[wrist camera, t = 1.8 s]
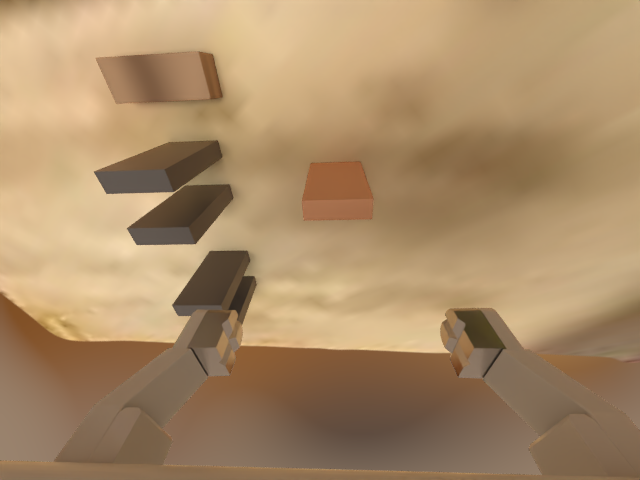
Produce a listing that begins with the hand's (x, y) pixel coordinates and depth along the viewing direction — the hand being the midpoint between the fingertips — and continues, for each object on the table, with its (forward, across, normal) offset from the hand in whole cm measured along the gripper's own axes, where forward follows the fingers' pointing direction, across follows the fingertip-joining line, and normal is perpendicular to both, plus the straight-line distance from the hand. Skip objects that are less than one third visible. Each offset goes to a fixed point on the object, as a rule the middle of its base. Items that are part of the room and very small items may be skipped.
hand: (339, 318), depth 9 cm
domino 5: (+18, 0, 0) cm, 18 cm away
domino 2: (+18, +14, +2) cm, 23 cm away
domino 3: (+18, +14, +11) cm, 25 cm away
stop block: (+18, +14, -8) cm, 24 cm away
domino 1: (+18, +14, -3) cm, 23 cm away
